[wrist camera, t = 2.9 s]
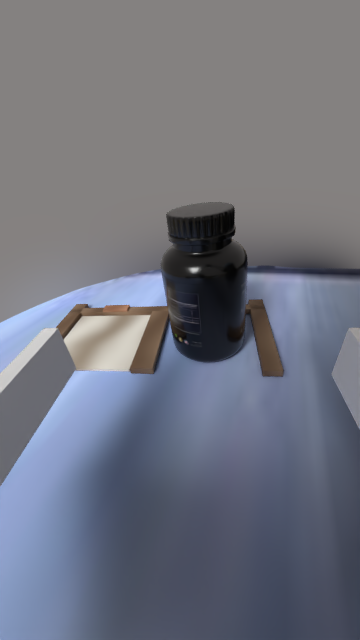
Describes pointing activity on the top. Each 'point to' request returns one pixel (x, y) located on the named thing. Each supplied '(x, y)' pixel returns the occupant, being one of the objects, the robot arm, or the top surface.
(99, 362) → the flat wooden frame
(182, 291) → the supplement bottle
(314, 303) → the top surface
